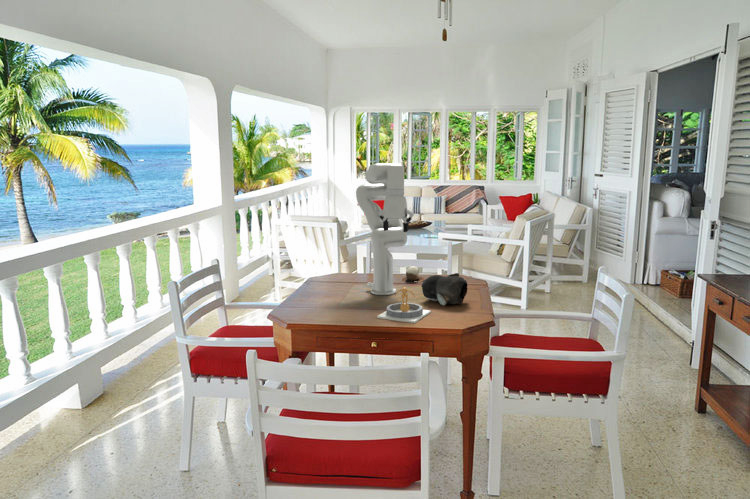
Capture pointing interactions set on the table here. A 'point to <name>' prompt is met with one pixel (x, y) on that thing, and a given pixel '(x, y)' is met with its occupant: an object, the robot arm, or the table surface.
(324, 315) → the table surface
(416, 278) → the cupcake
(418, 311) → the ring stand
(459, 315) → the table surface
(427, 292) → the dark grey rounded piece
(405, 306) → the figurine
